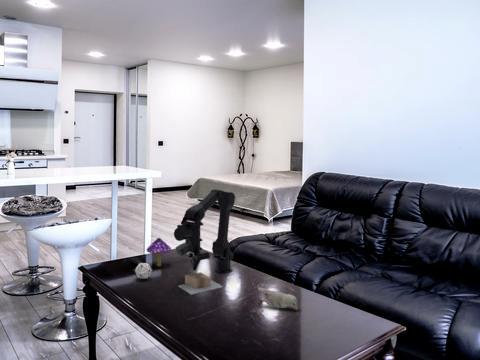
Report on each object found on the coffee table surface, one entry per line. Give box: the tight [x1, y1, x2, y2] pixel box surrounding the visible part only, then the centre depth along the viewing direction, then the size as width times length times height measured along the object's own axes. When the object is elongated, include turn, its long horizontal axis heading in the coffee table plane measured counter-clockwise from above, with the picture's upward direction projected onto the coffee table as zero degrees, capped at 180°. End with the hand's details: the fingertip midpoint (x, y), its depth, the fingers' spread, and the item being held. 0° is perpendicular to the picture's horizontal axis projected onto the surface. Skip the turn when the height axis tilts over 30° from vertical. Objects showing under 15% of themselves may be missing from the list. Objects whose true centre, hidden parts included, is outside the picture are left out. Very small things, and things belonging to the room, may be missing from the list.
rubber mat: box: [178, 279, 224, 296], centre depth 183 cm, size 16×12×1 cm
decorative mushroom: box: [146, 237, 172, 267], centre depth 211 cm, size 12×12×15 cm
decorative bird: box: [257, 286, 299, 311], centre depth 160 cm, size 5×16×8 cm, turn 73°
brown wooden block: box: [184, 271, 211, 289], centre depth 185 cm, size 8×4×9 cm
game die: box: [132, 261, 155, 281], centre depth 192 cm, size 9×8×10 cm
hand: (194, 270), depth 187 cm, fingers closed
